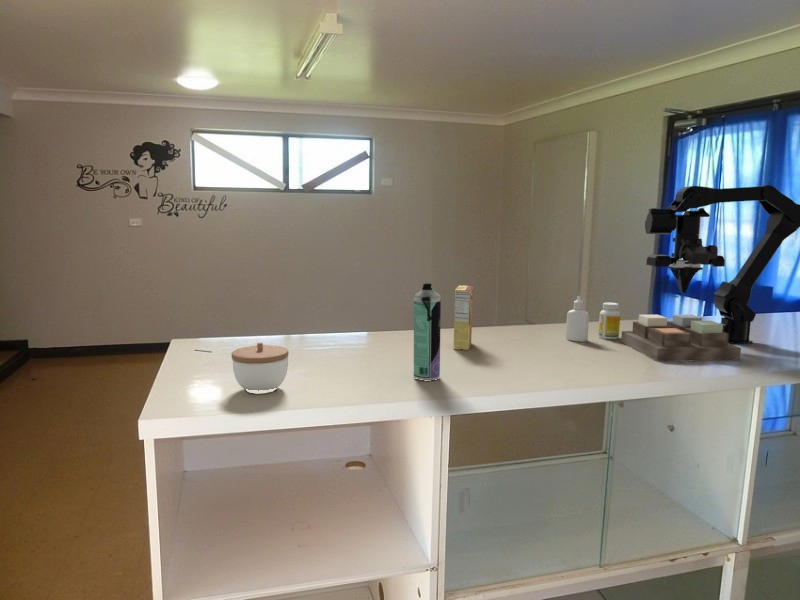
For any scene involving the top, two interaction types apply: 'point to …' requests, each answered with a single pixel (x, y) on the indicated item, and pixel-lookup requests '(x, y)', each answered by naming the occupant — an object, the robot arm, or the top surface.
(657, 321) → the cap cream
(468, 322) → the candy box
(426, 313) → the spray can
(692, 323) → the cap sage
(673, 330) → the cap terracotta
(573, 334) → the eye dropper bottle
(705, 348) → the stepped wooden stand
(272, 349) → the lidded jar
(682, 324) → the cap slate
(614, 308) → the supplement bottle
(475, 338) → the top surface
